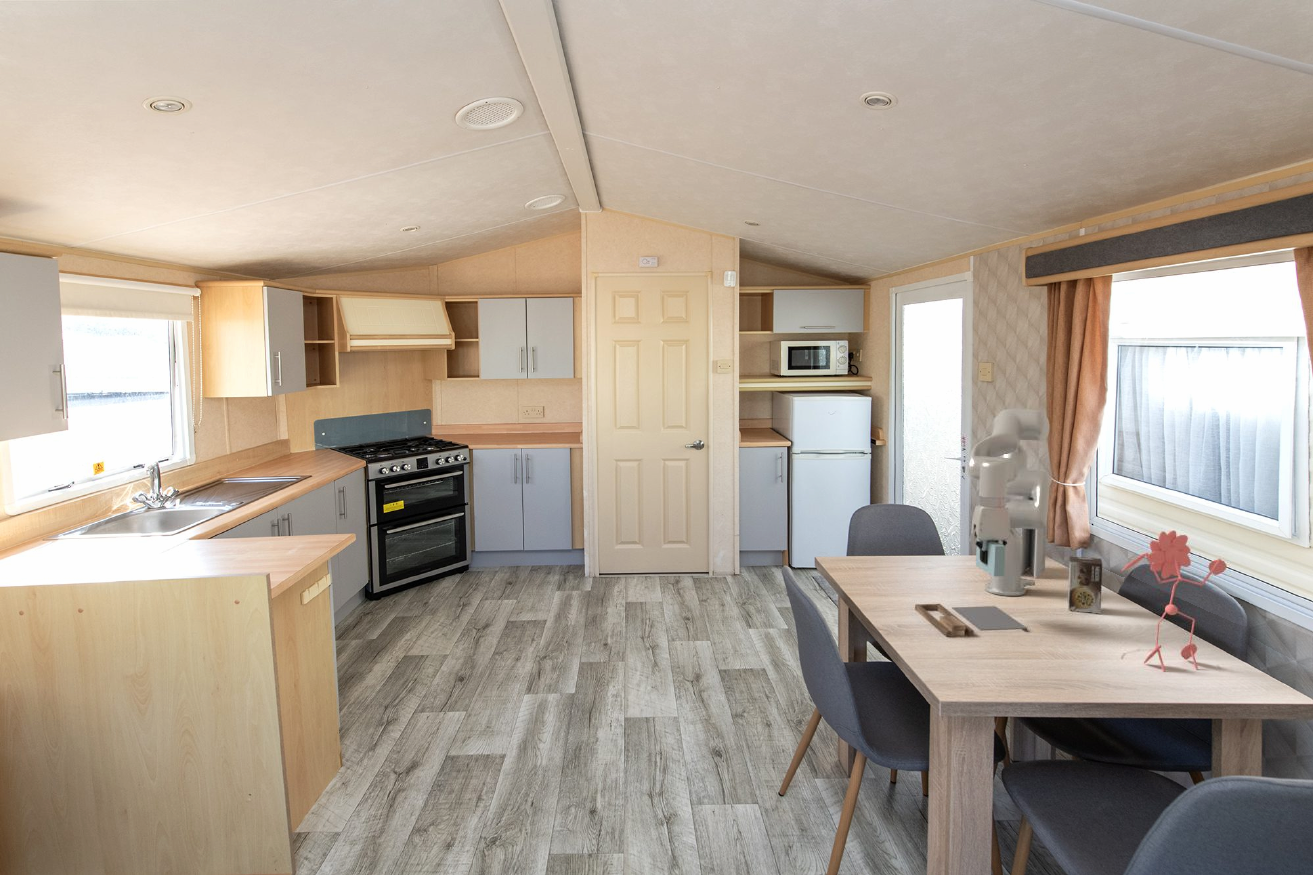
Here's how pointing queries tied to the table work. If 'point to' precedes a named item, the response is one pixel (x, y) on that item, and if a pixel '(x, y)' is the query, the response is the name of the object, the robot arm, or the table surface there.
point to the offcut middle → (956, 632)
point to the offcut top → (952, 623)
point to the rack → (945, 631)
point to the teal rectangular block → (992, 558)
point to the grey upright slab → (1033, 548)
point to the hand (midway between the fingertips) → (989, 562)
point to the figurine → (1169, 561)
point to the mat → (989, 618)
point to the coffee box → (1085, 584)
